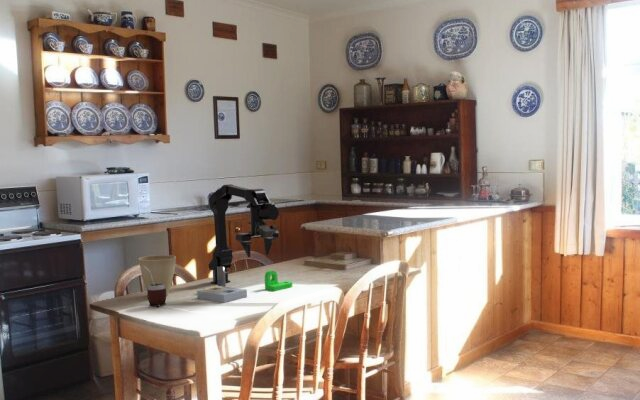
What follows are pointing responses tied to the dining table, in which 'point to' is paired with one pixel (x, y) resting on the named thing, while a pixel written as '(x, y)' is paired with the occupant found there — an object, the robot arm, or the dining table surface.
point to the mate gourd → (156, 293)
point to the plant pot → (158, 270)
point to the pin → (221, 276)
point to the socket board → (222, 294)
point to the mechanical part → (275, 282)
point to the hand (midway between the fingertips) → (258, 255)
